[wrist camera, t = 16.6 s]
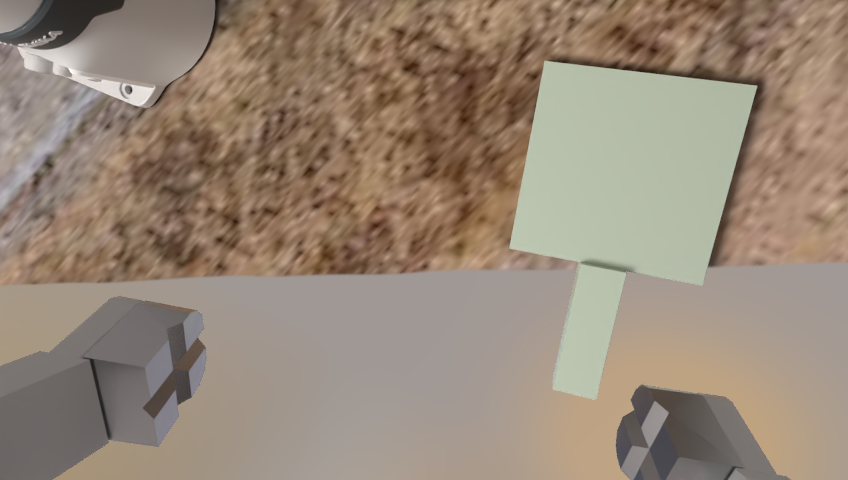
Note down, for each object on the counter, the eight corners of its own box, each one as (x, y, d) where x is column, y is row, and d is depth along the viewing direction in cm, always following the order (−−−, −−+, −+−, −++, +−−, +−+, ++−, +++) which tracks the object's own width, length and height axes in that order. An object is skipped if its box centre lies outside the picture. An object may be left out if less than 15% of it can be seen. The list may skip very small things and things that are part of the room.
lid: (487, 363, 45) (485, 373, 43) (544, 63, 40) (544, 59, 38) (663, 405, 42) (669, 417, 40) (750, 87, 37) (762, 84, 35)
